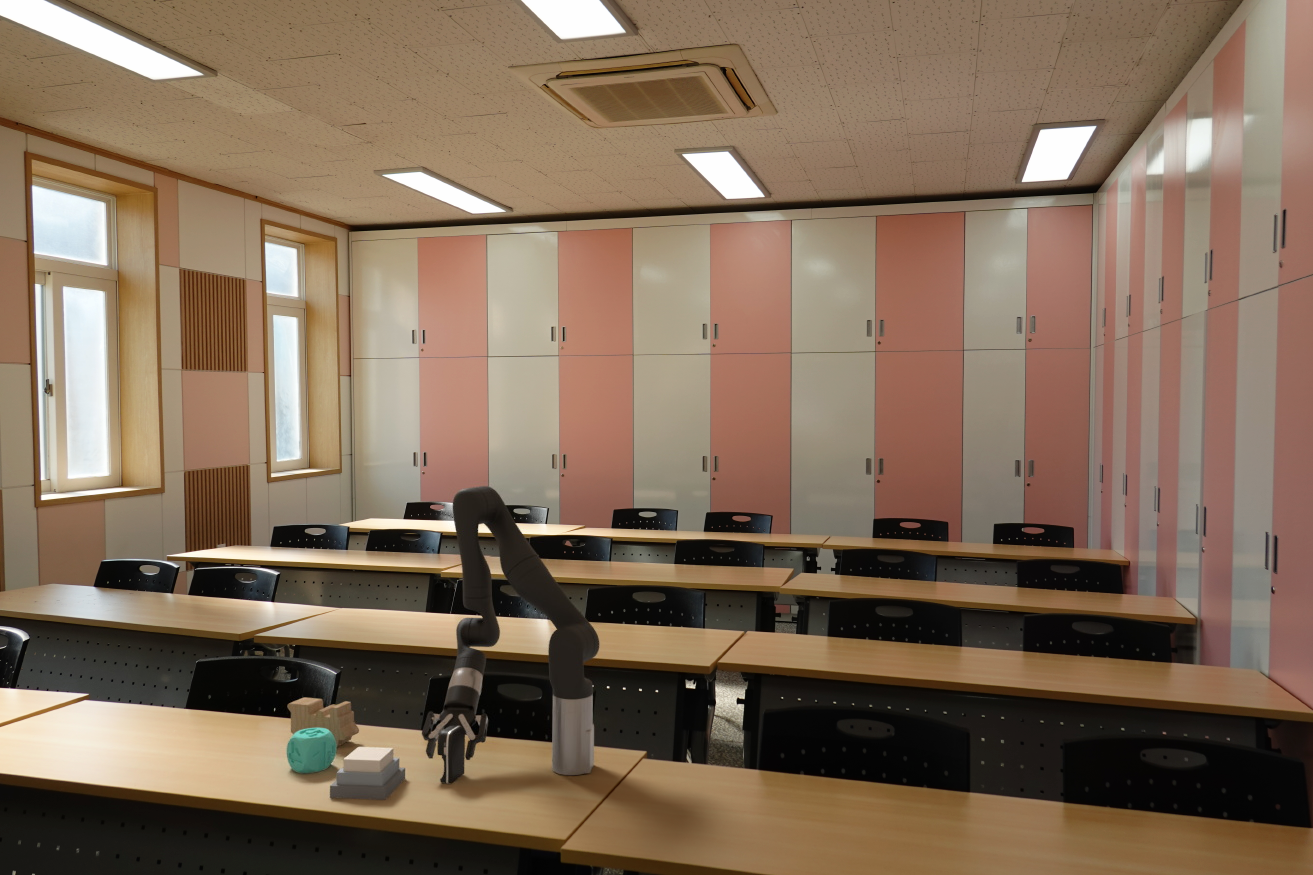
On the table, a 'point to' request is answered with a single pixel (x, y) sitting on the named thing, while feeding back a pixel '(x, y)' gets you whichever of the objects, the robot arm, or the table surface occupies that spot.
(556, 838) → the table surface
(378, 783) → the block tower
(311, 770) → the decorative dice
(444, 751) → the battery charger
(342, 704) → the toy train
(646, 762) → the table surface
